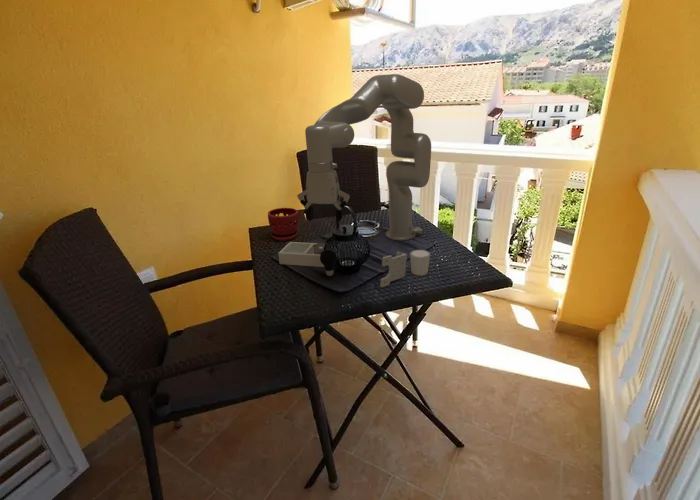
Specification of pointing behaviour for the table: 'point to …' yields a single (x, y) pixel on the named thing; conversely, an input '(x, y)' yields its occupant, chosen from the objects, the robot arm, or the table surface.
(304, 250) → the box
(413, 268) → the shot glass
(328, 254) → the light bulb
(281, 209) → the plant pot
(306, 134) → the robot arm
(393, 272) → the bracket
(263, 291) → the table surface
